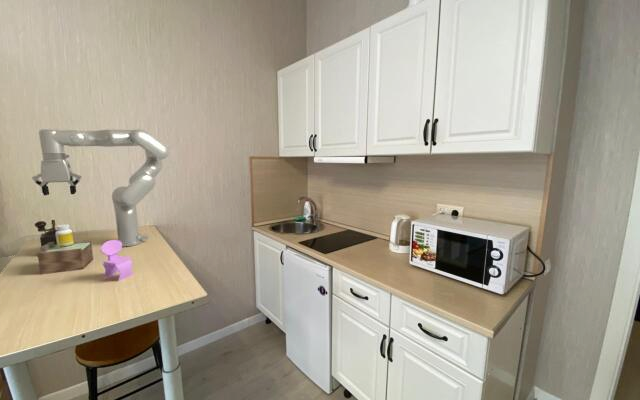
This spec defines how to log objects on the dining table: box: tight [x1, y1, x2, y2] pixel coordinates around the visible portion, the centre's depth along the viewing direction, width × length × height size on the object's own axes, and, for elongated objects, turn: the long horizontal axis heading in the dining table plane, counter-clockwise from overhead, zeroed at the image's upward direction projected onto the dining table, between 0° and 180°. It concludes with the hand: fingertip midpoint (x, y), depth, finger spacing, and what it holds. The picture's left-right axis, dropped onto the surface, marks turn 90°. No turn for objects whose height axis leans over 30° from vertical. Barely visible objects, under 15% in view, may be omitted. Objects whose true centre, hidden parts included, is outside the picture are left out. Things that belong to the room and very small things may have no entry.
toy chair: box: [100, 239, 134, 282], centre depth 111 cm, size 8×9×15 cm
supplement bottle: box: [55, 223, 75, 249], centre depth 119 cm, size 5×5×10 cm
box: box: [37, 240, 94, 275], centre depth 121 cm, size 14×12×9 cm
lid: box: [39, 242, 90, 253], centre depth 120 cm, size 14×9×3 cm, turn 113°
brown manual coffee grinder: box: [34, 219, 58, 247], centre depth 136 cm, size 16×11×18 cm
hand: (60, 194), depth 128 cm, fingers open, 9 cm apart
